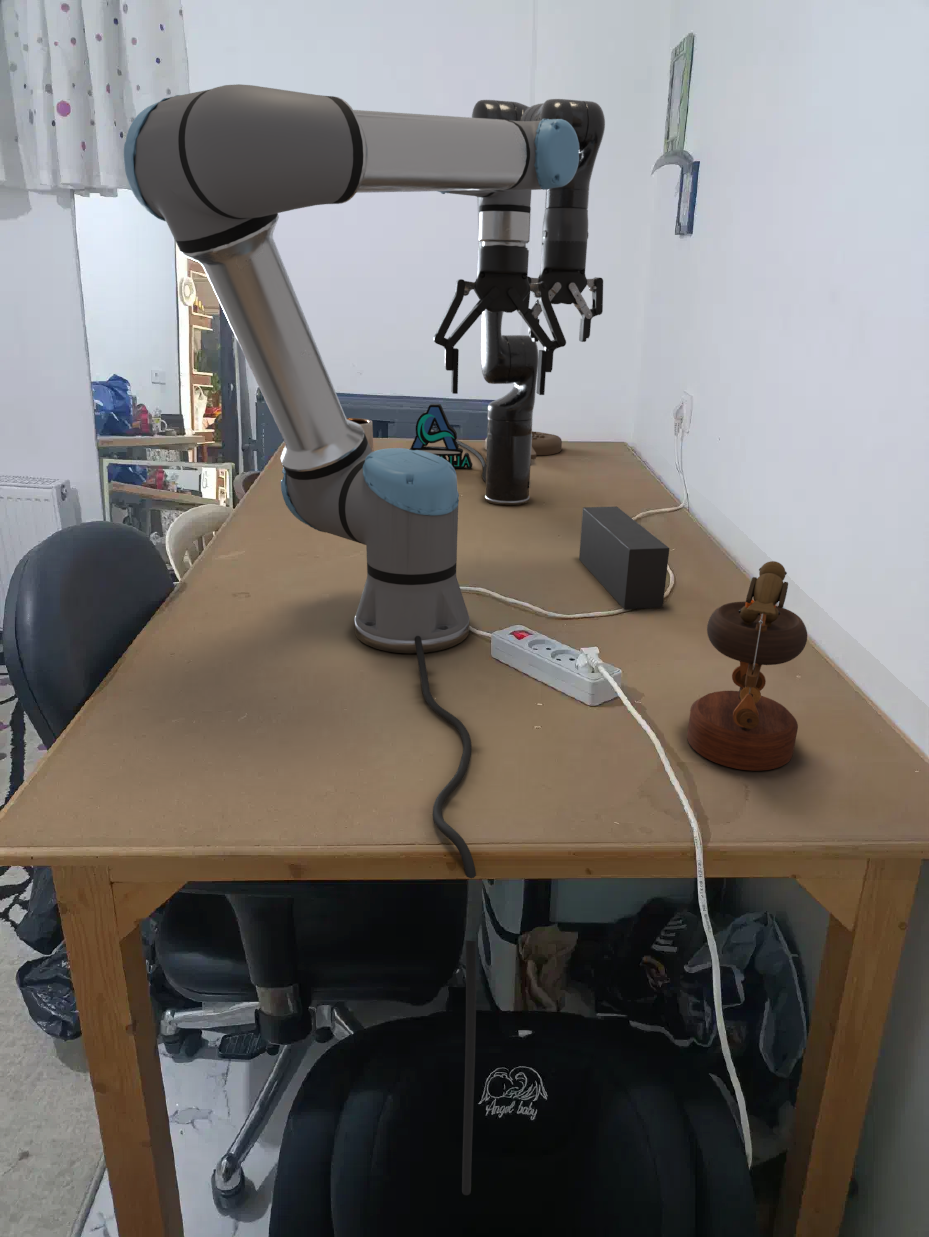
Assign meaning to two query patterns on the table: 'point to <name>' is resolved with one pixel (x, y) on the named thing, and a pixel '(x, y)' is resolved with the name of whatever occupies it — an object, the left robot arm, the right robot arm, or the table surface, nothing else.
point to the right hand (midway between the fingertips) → (558, 341)
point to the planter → (365, 429)
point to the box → (624, 557)
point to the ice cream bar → (543, 444)
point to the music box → (750, 679)
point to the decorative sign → (439, 437)
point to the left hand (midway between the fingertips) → (497, 393)
